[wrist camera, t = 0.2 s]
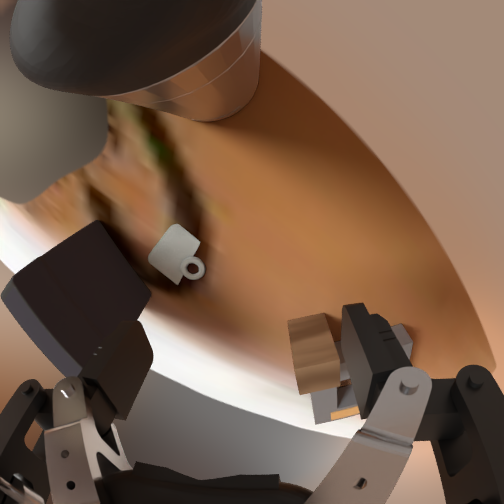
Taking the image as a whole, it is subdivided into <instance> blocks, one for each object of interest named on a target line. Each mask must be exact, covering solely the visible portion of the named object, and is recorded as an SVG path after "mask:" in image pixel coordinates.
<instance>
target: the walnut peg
mask: <svg viewBox="0 0 504 504" xmlns="http://www.w3.org/2000/svg"><path fill="white" fill-rule="evenodd" d="M287 323H288V329H289V336H290V343H291V350H292V357H293V364H294V371H295V375H296V380H297V385H298V389H299V394H300V395H302V394H307V393H312V392H317V391H322V390H326V389H330V388H335V387H339V386H340V359H339V356H338V353H337V350H336V347H335V344H334V341H333V338H332V335H331V332H330V329H329V326H328V323H327V320H326V317H325V314H324V313H320V314H316V315H311V316H307V317H302V318H297V319H292V320H288V321H287Z"/></svg>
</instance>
